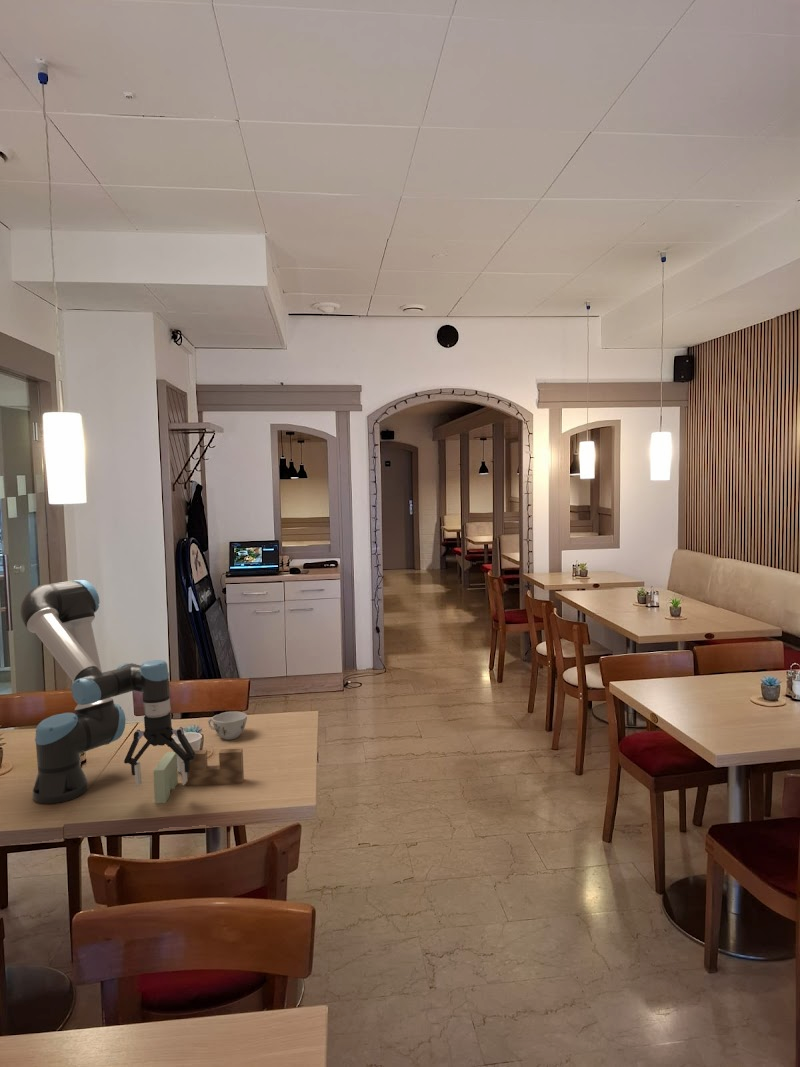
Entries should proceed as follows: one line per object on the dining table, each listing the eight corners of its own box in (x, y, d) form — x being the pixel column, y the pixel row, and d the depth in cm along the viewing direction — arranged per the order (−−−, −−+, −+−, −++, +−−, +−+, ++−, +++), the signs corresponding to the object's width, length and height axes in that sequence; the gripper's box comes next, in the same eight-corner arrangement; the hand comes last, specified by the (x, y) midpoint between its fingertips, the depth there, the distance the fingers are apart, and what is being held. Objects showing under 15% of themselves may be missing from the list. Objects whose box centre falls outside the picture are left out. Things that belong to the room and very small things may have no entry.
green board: (165, 802, 209) (163, 770, 208) (155, 803, 208) (153, 770, 208) (177, 782, 223) (176, 751, 222) (168, 782, 222) (166, 752, 222)
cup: (194, 777, 226) (192, 744, 225) (166, 775, 228) (164, 742, 227) (208, 765, 236) (207, 732, 235) (181, 763, 238) (179, 731, 237)
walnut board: (184, 785, 220) (182, 754, 219) (186, 781, 223) (184, 750, 222) (242, 783, 221) (240, 752, 220) (243, 779, 224) (242, 748, 223)
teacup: (253, 732, 266) (252, 711, 265) (238, 744, 254) (237, 722, 253) (217, 729, 269) (216, 709, 269) (200, 741, 257) (199, 720, 256)
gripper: (109, 720, 203) (114, 791, 205) (197, 715, 205) (201, 786, 206) (118, 712, 211) (123, 781, 212) (203, 707, 212) (207, 776, 214)
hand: (161, 784), depth 209 cm, fingers open, 13 cm apart
